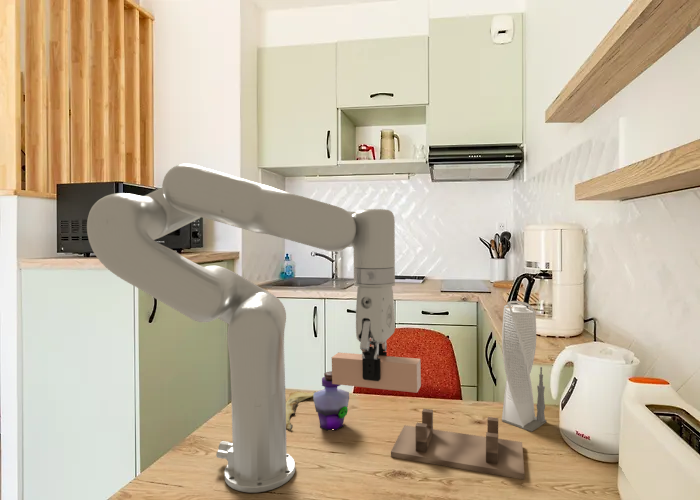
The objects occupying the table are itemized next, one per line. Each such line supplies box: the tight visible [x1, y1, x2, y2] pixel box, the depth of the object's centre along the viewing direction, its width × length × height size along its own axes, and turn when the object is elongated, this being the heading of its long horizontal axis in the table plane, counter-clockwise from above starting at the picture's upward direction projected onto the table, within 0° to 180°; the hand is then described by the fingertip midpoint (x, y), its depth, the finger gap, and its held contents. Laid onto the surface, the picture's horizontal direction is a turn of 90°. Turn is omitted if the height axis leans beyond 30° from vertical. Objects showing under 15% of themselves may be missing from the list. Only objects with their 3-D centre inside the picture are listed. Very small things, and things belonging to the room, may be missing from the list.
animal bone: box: [286, 390, 317, 431], centre depth 106 cm, size 21×2×10 cm
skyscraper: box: [501, 300, 547, 432], centre depth 98 cm, size 8×8×28 cm
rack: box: [390, 408, 525, 480], centre depth 86 cm, size 24×12×6 cm, turn 70°
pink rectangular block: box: [331, 352, 422, 393], centre depth 80 cm, size 16×4×5 cm, turn 70°
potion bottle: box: [312, 370, 350, 432], centre depth 98 cm, size 9×9×12 cm
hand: (374, 375), depth 80 cm, fingers closed on pink rectangular block, 3 cm apart
